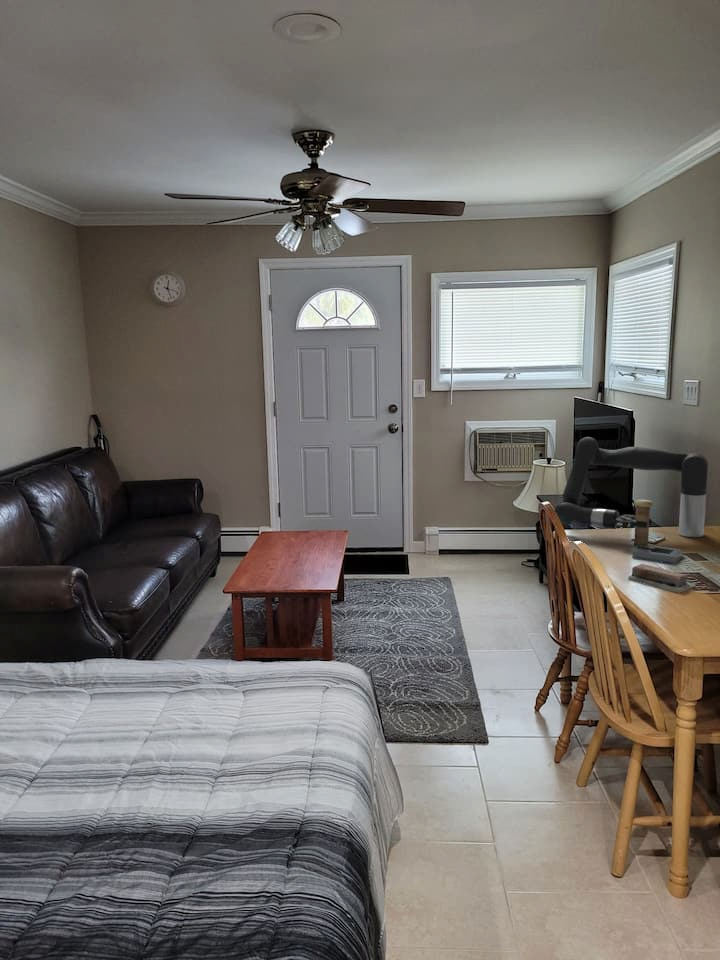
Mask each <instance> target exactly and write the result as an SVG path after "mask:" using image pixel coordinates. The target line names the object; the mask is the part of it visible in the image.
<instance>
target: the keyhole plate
mask: <svg viewBox="0 0 720 960" xmlns="http://www.w3.org/2000/svg"><path fill="white" fill-rule="evenodd" d="M683 553H684V549H681V548H674V547H666V546H658V545H652V544H648V545H646V544H641V545H640V546H635V547H633V549H632V555H631V556H632V558H633V559H639V558H640V560H646V559H648V560H647V561H652V560H656V561H655V562H659V561H663V562H662V563H666V562H669V563H668V564H672V563H675V562H676V561H677V560H678V559H679V558H680V559H681V558H683V556H684V555H683ZM680 559H679V560H680ZM679 560H678V561H679ZM678 561H677V562H678ZM677 562H676V563H677ZM676 563H675V564H676Z"/></svg>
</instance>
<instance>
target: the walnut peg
mask: <svg viewBox="0 0 720 960" xmlns="http://www.w3.org/2000/svg"><path fill="white" fill-rule="evenodd" d="M633 502H634V504H633V505H634V506H635V515H636V518H635V520H636V521H642V522H647V523H648V525H647V528H642V527H634V540H633V544H634V546H635V547H636V546H637V547H638V546H640V545H641V544H646V545H649V535H650V534H649V533H650V531H649V530H650V525H649V519H651V518H650V513H651V507H652V506H653V501H652V500H648V499H636V500H635V499H634V501H633Z"/></svg>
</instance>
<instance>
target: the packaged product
mask: <svg viewBox="0 0 720 960" xmlns="http://www.w3.org/2000/svg"><path fill="white" fill-rule="evenodd" d="M631 571H632V572H631V575H629V576H628V577H627V579H628V580H629V579H631V580H630V581H632V580H634V581H633V582H636V581H638V582H637V583H639V582H641V584H643V583H645V584H644V585H647V584H648V585H647V586H650V585H652V586H651V587H654V586H655V588H658V589H661V590H664V591H665V590H666V591H669V592H673V593H678V594H680V593H682V592H685V591H688V590H691V589H693V587H694V588H696V586H697V583H691V582H688V579H689V576H688V575H686V574H682V573H680V572H676V571H671V570H668V569H664V568H660V567H656V566H652V565H649V564H644V563H641V564H637V565H635V566H633V567H632V568H631Z"/></svg>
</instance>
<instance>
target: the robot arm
mask: <svg viewBox="0 0 720 960" xmlns="http://www.w3.org/2000/svg"><path fill="white" fill-rule="evenodd" d="M590 465H591V466H592V465H593V466H594V465H595V466H597V465H598V466H613V467H619V468H620V467H621V468H626V469H627V468H628V469H634V470H641V471H666V470H667V471H673V472H678V473H679V472H680V473H681V475H680V504H679V519H678V520H679V521H678V523H679V524H678V535H679V536H682V537H689V538H700V537H704V532H705V531H704V530H705V519H706V518H705V517H706V503H707V502H706V501H707V498H706V497H707V488H708V487H707V485H708V484H707V483H708V468H709V461H708V459H707V458H706V457H705V456H704V455H702V454H700V453H691V452H690V453H687V452H686V453H685V452H681V453H680V452H669V451H664V450H661V449H660V450H659V449H656V448H655V449H654V448H649V447H641V446H628V447H624V448H619V449H605V448H601V447H599V443H598V441H597V440H596V439H595V438H594V437H591V436H585V437H583V438H581V439H580V440H579V441H578V442H577V444H576V447H575V456H574V461H573V465H572V469H571V471H570V474H569V477H568V480H567V481H566V485H565V487H564V490H563V492H562V493H563V494H562V502H559V503H558V504H556V505H555V507H554V510H555V511H554V513H555V512H556V513H557V515H558V517H559V519H560V521H561V522H560V521H559V522H560V524H562V525H565V526H570V525H571V524H573V523H574V521H577V522H578V523H579V524H581V525H584V526H586V525H587V526H591V527H597V528H604V529H611V530H616V529H617V528H626V529H627V528H629V529H633V528H635V527H642V528H647V525H648V523H647V522H642V521H636V520H635V518H636V514H635V515H634V514H628V513H627V514H623V515H620V512H619V510H617V509H616V510H615V509H610V508H609V509H607V508H593V507H584V506H580V505H579V503H580V502H579V501H580V498H582V497H581V496H582V494H583V492H584V487H585V484H586V483H585V482H586V477H587V474H588V473H587V472H588V470H589V466H590ZM559 519H558V520H559ZM652 523H653V521H652V519H651V518H649V526H652Z"/></svg>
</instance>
